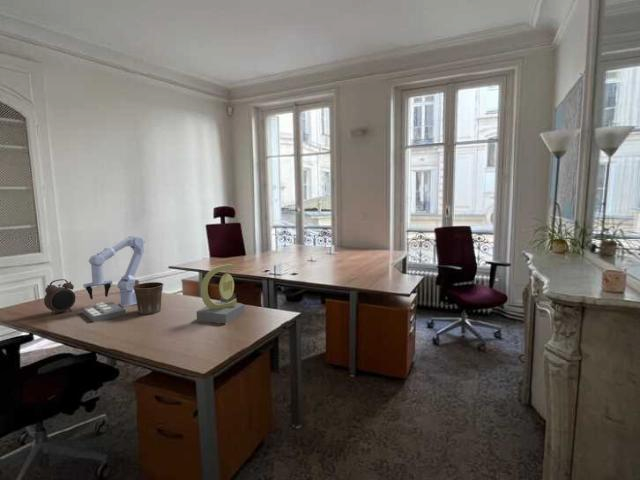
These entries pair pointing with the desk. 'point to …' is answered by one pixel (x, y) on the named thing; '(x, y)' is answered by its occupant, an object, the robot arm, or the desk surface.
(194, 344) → the desk surface
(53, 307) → the alarm clock
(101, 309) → the button
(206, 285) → the trophy
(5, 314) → the desk surface
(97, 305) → the button
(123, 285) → the robot arm
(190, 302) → the desk surface
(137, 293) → the plant pot
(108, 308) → the button
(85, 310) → the button panel
